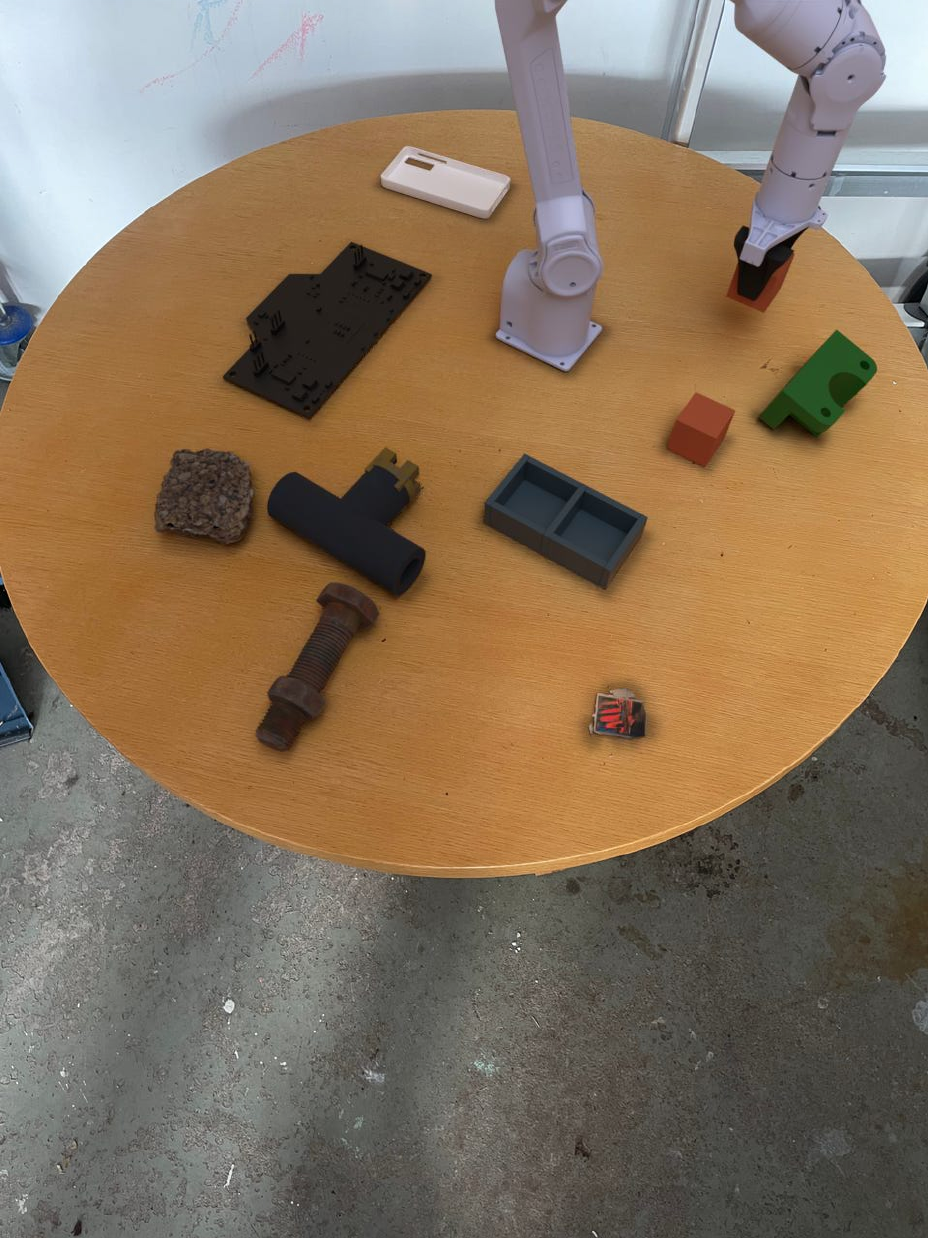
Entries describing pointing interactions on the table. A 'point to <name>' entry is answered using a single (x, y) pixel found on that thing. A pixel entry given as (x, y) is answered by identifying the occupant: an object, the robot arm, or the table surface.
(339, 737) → the table surface
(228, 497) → the concrete sample
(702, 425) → the red cube
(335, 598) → the bolt
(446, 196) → the phone case
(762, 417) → the clamp
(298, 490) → the pipe connector
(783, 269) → the orange cube
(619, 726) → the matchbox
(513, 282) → the robot arm
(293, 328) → the circuit board
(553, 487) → the grey rectangular tray
